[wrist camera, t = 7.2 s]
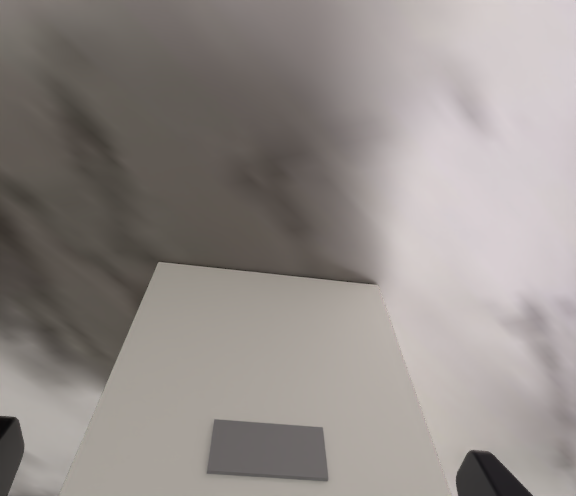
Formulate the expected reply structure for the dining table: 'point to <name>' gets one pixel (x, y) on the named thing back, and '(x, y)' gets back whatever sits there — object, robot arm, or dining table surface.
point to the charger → (257, 395)
